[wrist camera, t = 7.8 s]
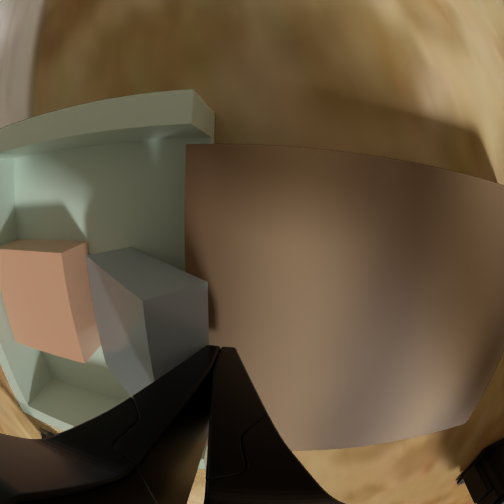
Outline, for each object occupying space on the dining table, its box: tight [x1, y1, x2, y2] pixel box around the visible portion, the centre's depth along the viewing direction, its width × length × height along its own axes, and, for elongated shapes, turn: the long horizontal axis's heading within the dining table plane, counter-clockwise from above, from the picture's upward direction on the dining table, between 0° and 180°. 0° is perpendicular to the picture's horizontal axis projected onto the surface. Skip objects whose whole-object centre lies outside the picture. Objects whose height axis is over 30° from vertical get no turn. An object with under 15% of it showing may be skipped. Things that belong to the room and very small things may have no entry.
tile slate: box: [86, 247, 209, 397], centre depth 9 cm, size 5×5×2 cm
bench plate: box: [184, 144, 504, 451], centre depth 10 cm, size 14×12×3 cm
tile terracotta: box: [0, 239, 101, 363], centre depth 11 cm, size 5×5×2 cm
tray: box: [0, 89, 215, 469], centre depth 11 cm, size 12×15×4 cm
